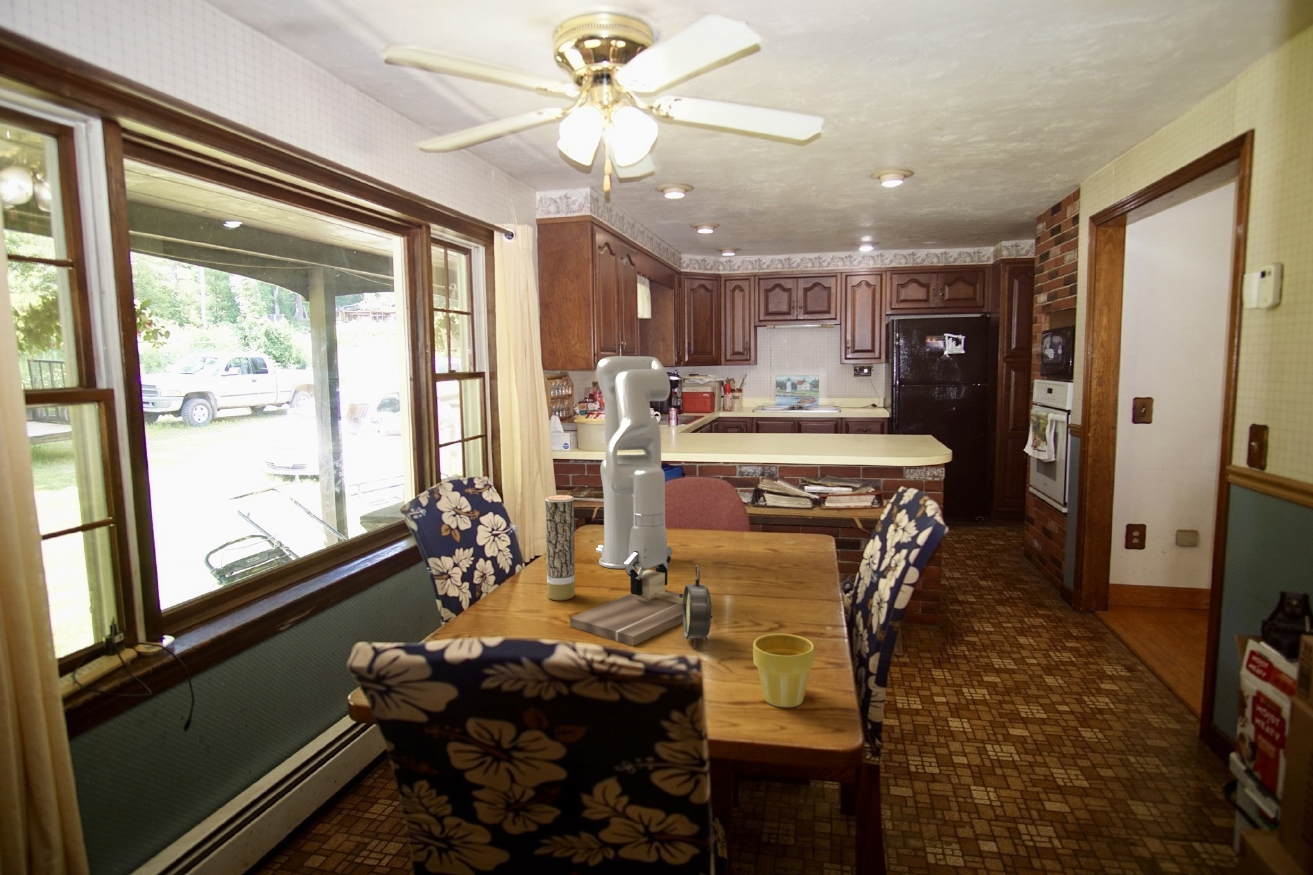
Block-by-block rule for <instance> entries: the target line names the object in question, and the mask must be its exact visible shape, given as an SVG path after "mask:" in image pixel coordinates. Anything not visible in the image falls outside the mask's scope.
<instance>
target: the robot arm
mask: <svg viewBox="0 0 1313 875" xmlns="http://www.w3.org/2000/svg"><path fill="white" fill-rule="evenodd" d="M596 377H597V383H598V386H599V389H600V391H601V395H602V399H603V401H604V402H603V403H604V433H605V434H604V437H605V444H606V450H605V457H604V459H603V460H602V461H601V463H600V466H599V467H600V471H599V472H600V478H601V484H602V492H603V494H602V495H603V528H604V530H603V537H604V538H603V539H604V540H603V542H604V543H603V544H598V547H596V549H595V552H596V553H599V554H601V557H599V559H598V564H599V565H600V566H602V567H605V568H608V569H615V570H616V569H622V570H623V569H625V572H626V574H627V575H628V578H630V594H635V595H638V596H641V595H642V594H643V580H642V579H640V578H641V576H642V574H643V572H644V571H646V570H650V569H652V568H655V571H657V572H661V573H665V587H666V586H668V569H670V568H669V567H670V562H671V560H672V553H673V550H674V549H673V548H672V547H670V546H668V537H667V536H668V534H667V528H666V494H665V493H666V489H665V488H666V486H665V485H666V480H665V479H666V477H665V476H666V475H665V471H664V469H662V436H661V432H662V431H661V427H660V424H659V421H658V420H657V419H656V418H654V417H652V413H651V404H650V402H664V401H666V400H667V399H668V398H669V396H670V394H671V383H670V378H669V375H668V373H667V371H666V368H665V367H664V365H663V364H662V362H661V361H660V360H659V359H658V358H657V357H655V356H643V355H641V356H637V355H636V356H633V355H632V356H631V355H630V356H629V355H628V356H627V355H626V356H625V355H621V356H619V355H615V356H607V357H603V358H601V359H600V360H599V361H598V363H597V366H596ZM618 451H643V453H644V454H643V453H642V454H641V453H639V454H618ZM637 570H638V571H637Z"/></svg>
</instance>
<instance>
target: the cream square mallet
mask: <svg viewBox="0 0 1313 875" xmlns="http://www.w3.org/2000/svg"><path fill="white" fill-rule="evenodd" d="M640 579H642V580H643V594H642V595H641V596H638V595H635V594H633V596H637V597H641V598H645V599H649V600H650V599H653V598H659V599H663V600H667V601H671V602H675V603H679V604H683V595H684V593H679V595H675V594H671V593H667V592H665V590H666V586H665V573H661V572H657V571H656V570H651V569H646V570H644V571H643V574H642V576H641V578H640Z"/></svg>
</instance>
